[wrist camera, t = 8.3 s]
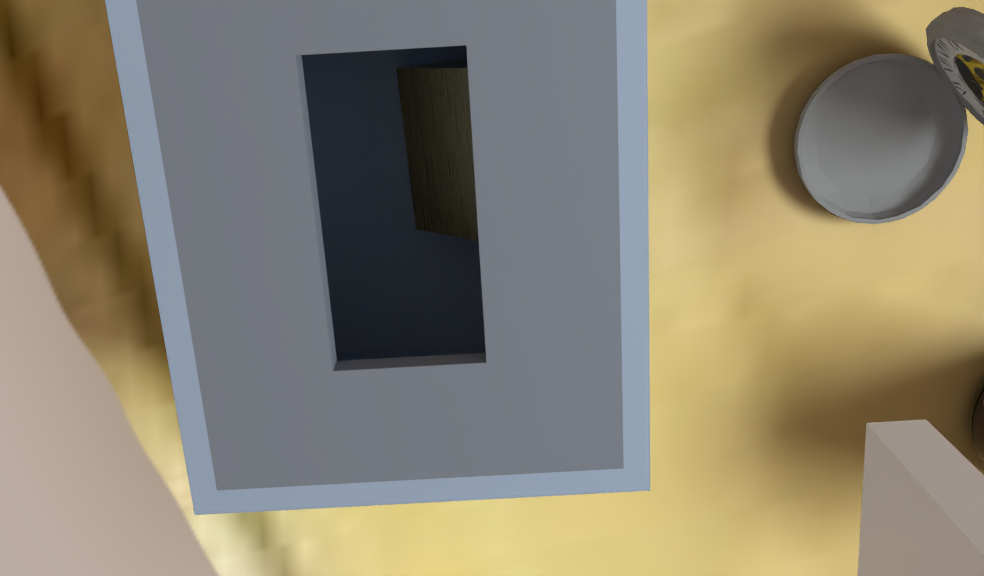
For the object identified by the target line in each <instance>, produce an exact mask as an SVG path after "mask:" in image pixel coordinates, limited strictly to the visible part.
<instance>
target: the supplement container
mask: <svg viewBox="0 0 984 576" xmlns="http://www.w3.org/2000/svg"><path fill="white" fill-rule="evenodd" d="M970 432H971V437H972V441H973V444H974V447H975V449H976V451H977V453H978V455H979V457H980V458H981V459H982V461H983V462H984V381H983V383H982V384H981V386H980V388H979V389H978V391H977V393H976V396H975V398H974V401H973V404H972V408H971V413H970Z"/></svg>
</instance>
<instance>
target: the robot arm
mask: <svg viewBox="0 0 984 576" xmlns="http://www.w3.org/2000/svg"><path fill="white" fill-rule="evenodd" d="M858 576H984V475H983V474H982V473H981V472H980V471H979V470H978V469H977V468H976V467H975V466H974V465H973V464H972V463H971V462H970V461H968V460H967V459H966V458H965V457H964V456H963V455H962V454H961V453H960V452H959V451H958V450H957V449H956V448H955V447H954V446H953V445H952V444H951V443H950V442H949V441H948V440H947V439H946V438H945V437H944V436H943V435H942V434H941V433H940V432H939V431H938V430H936V429H935V428H934V427H933V426H932V425H931V424H930V423H929V422H928V421H927V420H926V419H923V420H906V421H890V422H873V423H866V440H865V457H864V474H863V492H862V509H861V526H860V543H859V561H858Z"/></svg>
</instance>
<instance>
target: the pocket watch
mask: <svg viewBox="0 0 984 576" xmlns="http://www.w3.org/2000/svg"><path fill="white" fill-rule="evenodd" d="M926 34H927V46H928V50H929V53H930V56H931V58H932V60H933V65H932V64H931V63H929V62H927V61H925V60H922V59H920V58H917V57H913V56H909V55H904V54H898V53H893V54H874V55H871V56H868V57H864V58H861V59H858V60H854V61H852V62H850V63H848V64H847V65H845V66H843V67H841V68H839V69H838V70H836V71H835V72H834V73H833V74H831V75H830V76H829V77H827V78H826V79H825V80H824V81H823V82H822V83H821V84H820V85H819V87H818V88H817V89H816V90H815V91H814V92H813V93H812V95H811V97H810V99H809V100H808V102H807V104H806V105H805V107H804V109H803V110H802V112H801V116H800V119H799V123H798V126H797V130H796V134H795V142H794V143H795V161H796V165H797V169H798V174H799V176H800V178H801V180H802V182H803V184H804V186H805V187H806V189H807V190H808V192H809V193H810V195H811V197H812V198H813V199H814V200H816V201H817V202H818V203H819V204H820V205H822V206H823V207H824V208H825V209H827V210H828V211H829V212H830V213H832V214H833V215H835V216H838V217H840V218H843V219H846V220H850V221H853V222H856V223H868V224H878V223H886V222H891V221H895V220H899V219H903V218H905V217H907V216H909V215H911V214H914V213H916V212H918V211H919V210H921V209H922V208H923V207H925V206H926V205H928V204H929V203H930V202H932V201H933V200H934V199H936V198H937V196H938V195H939V194H940V193H941V192H942V191H943V190H944V188H945V187H946V186H947V185H948V184H949V183H950V181H951V180H952V178H953V177H954V176H955V174H956V172H957V170H958V168H959V165H960V163H961V161H962V158H963V156H964V153H965V148H966V141H967V135H968V124H967V114H966V110H965V107H966V108H967V109H968V110H969V112H970V113H971V114H972V115H973V116H974V117H975V118H976V119H977V120H978V121H980V122H981V123H982V124H983V125H984V14H983V13H980V12H978V11H976V10H974V9H969V8H965V7H957V8H953V9H951V10H949V11H947V12H943V13H942V14H941V15H939V16H938V17H937V18H935V19H934V20H933V21H931V23H930V24H929V25H928V27H927V28H926Z"/></svg>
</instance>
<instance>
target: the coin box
mask: <svg viewBox="0 0 984 576" xmlns="http://www.w3.org/2000/svg"><path fill="white" fill-rule="evenodd" d="M105 4H106V9H107V15H108V21H109V26H110V32H111V38H112V44H113V49H114V55H115V61H116V67H117V72H118V78H119V84H120V89H121V95H122V101H123V107H124V112H125V118H126V124H127V130H128V135H129V141H130V147H131V152H132V158H133V164H134V170H135V175H136V181H137V187H138V193H139V198H140V204H141V210H142V215H143V221H144V227H145V233H146V238H147V244H148V250H149V256H150V261H151V267H152V273H153V278H154V284H155V290H156V296H157V301H158V307H159V313H160V319H161V324H162V330H163V336H164V341H165V347H166V353H167V359H168V364H169V370H170V376H171V382H172V387H173V393H174V399H175V404H176V410H177V416H178V422H179V427H180V433H181V439H182V445H183V450H184V456H185V462H186V467H187V473H188V479H189V485H190V490H191V496H192V502H193V508H194V513H195V515H203V514H222V513H240V512H259V511H277V510H296V509H315V508H333V507H352V506H371V505H389V504H408V503H427V502H445V501H464V500H483V499H501V498H520V497H538V496H557V495H576V494H594V493H613V492H632V491H650V389H649V237H648V86H647V0H105ZM447 60H467V64H468V80H469V96H470V111H471V127H472V143H473V159H474V174H475V190H476V206H477V222H478V237H479V242H478V241H473V240H468V239H463V238H458V237H453V236H448V235H443V234H438V233H433V232H428V231H423V230H418V229H416V225H415V217H414V209H413V201H412V192H411V184H410V176H409V168H408V160H407V151H406V143H405V135H404V127H403V119H402V111H401V102H400V94H399V86H398V78H397V70H396V69H397V68H403V67H409V66H416V65H422V64H428V63H434V62H441V61H447Z"/></svg>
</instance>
